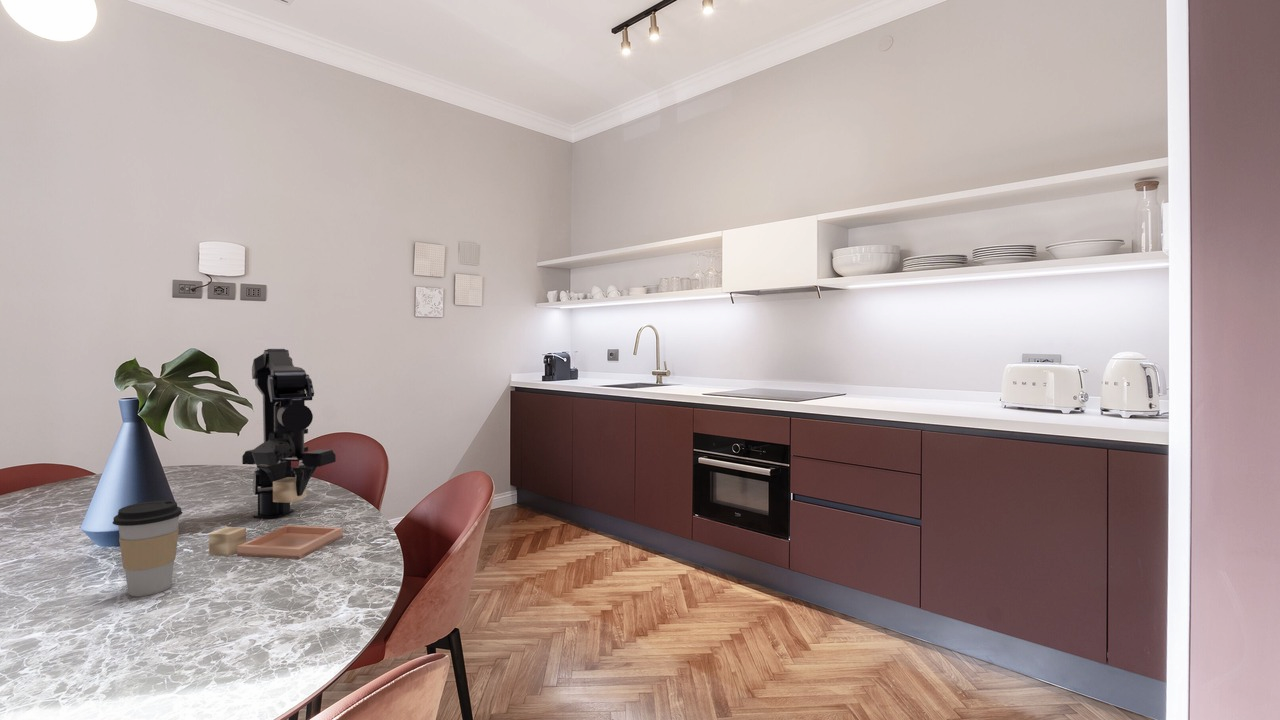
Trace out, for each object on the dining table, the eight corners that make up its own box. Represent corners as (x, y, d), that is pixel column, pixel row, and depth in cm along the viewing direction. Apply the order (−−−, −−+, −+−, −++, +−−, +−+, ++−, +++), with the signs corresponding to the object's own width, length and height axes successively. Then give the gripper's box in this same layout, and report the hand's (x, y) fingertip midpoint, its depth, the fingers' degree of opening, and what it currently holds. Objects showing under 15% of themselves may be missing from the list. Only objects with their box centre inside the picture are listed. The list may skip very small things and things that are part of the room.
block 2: (273, 502, 126) (272, 481, 126) (287, 496, 131) (287, 477, 130) (291, 502, 126) (291, 482, 125) (306, 497, 130) (305, 477, 130)
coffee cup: (196, 580, 106) (195, 500, 106) (148, 602, 97) (147, 515, 97) (150, 577, 107) (149, 498, 107) (98, 599, 98) (96, 513, 97)
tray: (237, 555, 119) (237, 546, 119) (286, 533, 133) (286, 525, 133) (299, 559, 117) (299, 549, 117) (342, 536, 131) (342, 527, 131)
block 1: (209, 554, 119) (208, 533, 119) (227, 547, 124) (227, 526, 124) (228, 556, 119) (228, 534, 119) (246, 548, 123) (245, 527, 123)
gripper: (220, 430, 121) (221, 503, 121) (302, 432, 118) (302, 507, 119) (261, 422, 132) (262, 490, 132) (336, 425, 130) (337, 493, 130)
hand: (289, 495), depth 128 cm, fingers closed on block 2, 4 cm apart
